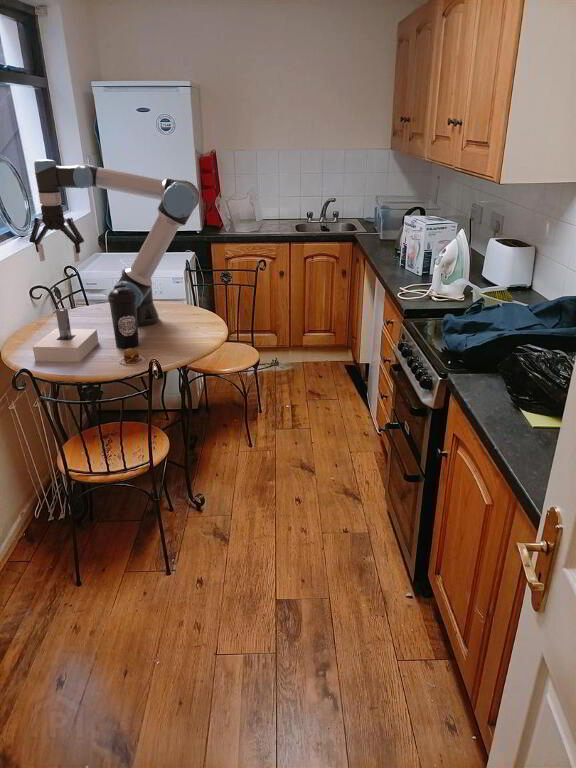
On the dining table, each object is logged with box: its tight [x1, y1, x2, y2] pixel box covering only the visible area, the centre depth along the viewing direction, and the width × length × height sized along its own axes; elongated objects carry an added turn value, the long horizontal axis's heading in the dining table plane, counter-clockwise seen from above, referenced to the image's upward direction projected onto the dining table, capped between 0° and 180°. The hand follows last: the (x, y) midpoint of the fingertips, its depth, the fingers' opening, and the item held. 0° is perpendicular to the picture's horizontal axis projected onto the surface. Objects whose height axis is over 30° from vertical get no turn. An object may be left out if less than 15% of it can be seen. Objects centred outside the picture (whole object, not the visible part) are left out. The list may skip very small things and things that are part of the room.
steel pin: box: [55, 307, 72, 340], centre depth 205 cm, size 4×4×14 cm
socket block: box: [32, 327, 99, 363], centre depth 207 cm, size 16×20×6 cm
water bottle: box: [107, 284, 140, 350], centre depth 210 cm, size 10×10×23 cm
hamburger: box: [118, 348, 145, 366], centre depth 200 cm, size 12×12×6 cm
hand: (60, 261), depth 217 cm, fingers open, 13 cm apart
